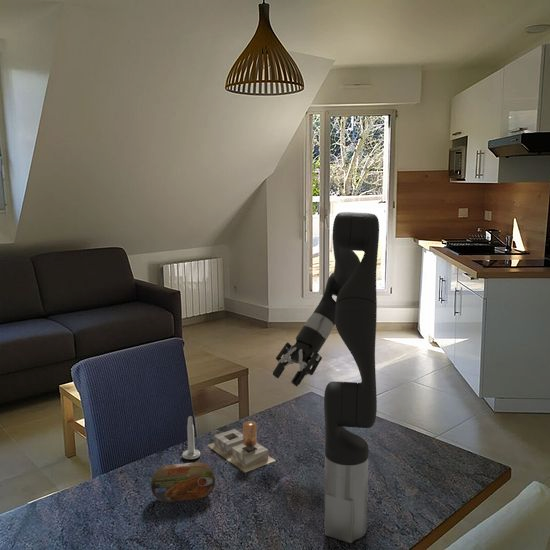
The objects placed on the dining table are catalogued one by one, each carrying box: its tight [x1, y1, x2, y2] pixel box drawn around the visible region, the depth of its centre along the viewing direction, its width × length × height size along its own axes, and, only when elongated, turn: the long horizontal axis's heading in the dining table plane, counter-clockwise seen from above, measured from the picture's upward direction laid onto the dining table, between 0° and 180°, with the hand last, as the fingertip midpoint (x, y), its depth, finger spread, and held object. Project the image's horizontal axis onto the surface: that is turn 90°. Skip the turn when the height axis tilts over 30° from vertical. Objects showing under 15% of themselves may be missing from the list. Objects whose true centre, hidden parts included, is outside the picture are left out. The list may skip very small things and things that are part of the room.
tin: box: [150, 461, 216, 503], centre depth 134 cm, size 15×3×8 cm, turn 99°
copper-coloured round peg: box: [242, 420, 258, 453], centre depth 150 cm, size 4×4×10 cm
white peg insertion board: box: [206, 428, 277, 473], centre depth 154 cm, size 19×10×4 cm, turn 38°
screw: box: [182, 415, 201, 461], centre depth 151 cm, size 13×5×5 cm
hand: (284, 380), depth 154 cm, fingers open, 8 cm apart
